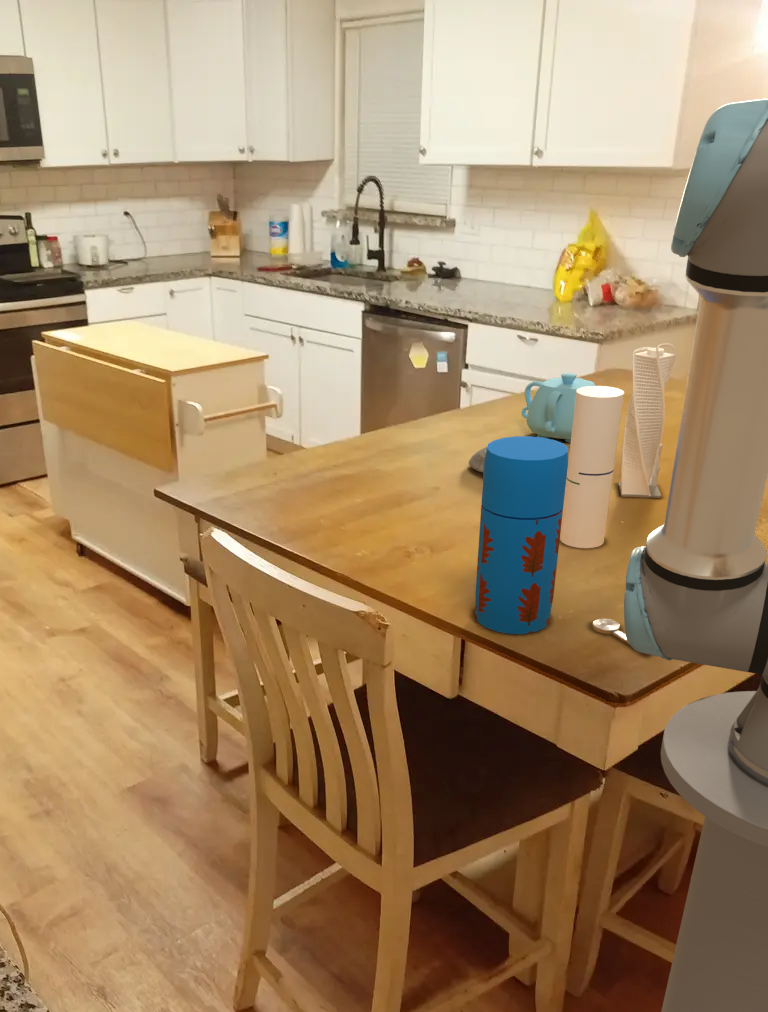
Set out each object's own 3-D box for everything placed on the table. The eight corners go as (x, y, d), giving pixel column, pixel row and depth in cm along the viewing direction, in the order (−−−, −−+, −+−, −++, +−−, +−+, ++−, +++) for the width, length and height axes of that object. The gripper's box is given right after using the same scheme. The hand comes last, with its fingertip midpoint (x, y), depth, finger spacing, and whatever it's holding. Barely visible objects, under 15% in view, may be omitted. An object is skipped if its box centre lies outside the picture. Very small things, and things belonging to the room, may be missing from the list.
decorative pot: (536, 448, 205) (542, 384, 198) (516, 426, 219) (521, 367, 212) (610, 444, 205) (619, 381, 199) (586, 423, 219) (593, 363, 213)
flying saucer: (524, 487, 183) (526, 459, 181) (455, 474, 192) (456, 447, 189) (555, 465, 194) (558, 439, 191) (489, 454, 202) (490, 429, 199)
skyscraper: (662, 500, 175) (687, 344, 161) (616, 499, 176) (637, 344, 163) (656, 485, 182) (679, 335, 168) (611, 484, 183) (631, 334, 170)
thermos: (557, 607, 138) (577, 440, 126) (542, 640, 130) (561, 464, 118) (484, 595, 143) (496, 432, 131) (464, 626, 134) (475, 455, 122)
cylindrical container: (596, 551, 156) (617, 399, 144) (554, 543, 159) (570, 394, 147) (609, 536, 161) (629, 388, 149) (567, 529, 164) (584, 384, 152)
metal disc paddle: (658, 650, 126) (659, 646, 126) (638, 656, 125) (638, 652, 125) (606, 620, 135) (607, 616, 134) (586, 625, 133) (587, 621, 133)
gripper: (782, 235, 126) (747, 411, 138) (710, 243, 122) (680, 424, 133) (832, 240, 120) (791, 423, 132) (758, 249, 116) (722, 438, 127)
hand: (735, 424), depth 132 cm, fingers closed
